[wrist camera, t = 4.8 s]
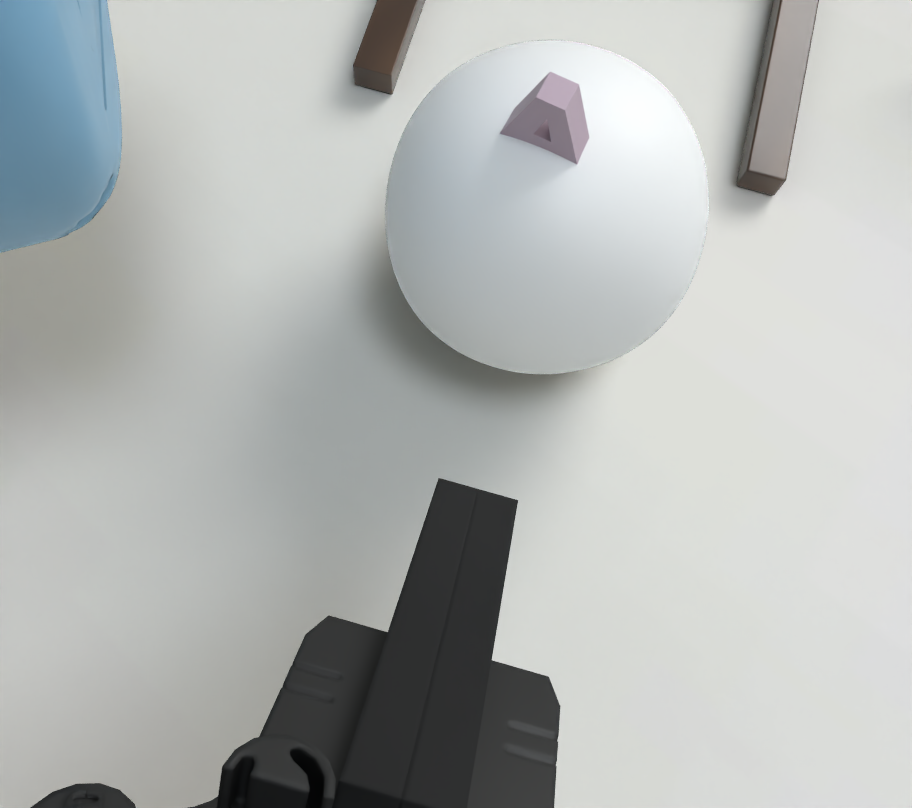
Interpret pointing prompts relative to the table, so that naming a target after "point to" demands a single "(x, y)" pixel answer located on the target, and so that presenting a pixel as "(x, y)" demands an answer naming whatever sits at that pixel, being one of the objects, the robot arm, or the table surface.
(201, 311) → the table surface
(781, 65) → the bay
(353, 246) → the table surface
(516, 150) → the ornament
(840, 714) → the table surface
